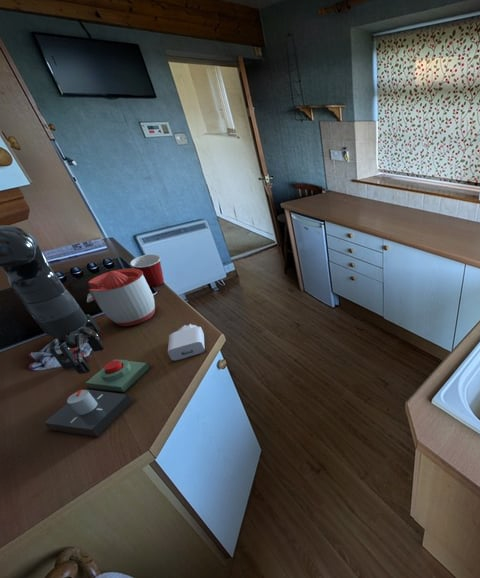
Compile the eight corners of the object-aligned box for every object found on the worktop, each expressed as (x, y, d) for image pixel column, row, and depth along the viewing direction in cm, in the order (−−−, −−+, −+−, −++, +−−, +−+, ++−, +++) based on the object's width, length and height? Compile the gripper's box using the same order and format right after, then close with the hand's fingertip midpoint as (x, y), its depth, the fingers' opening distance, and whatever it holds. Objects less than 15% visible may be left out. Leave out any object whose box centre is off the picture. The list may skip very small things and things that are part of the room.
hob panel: (50, 430, 72) (43, 422, 70) (90, 396, 81) (84, 388, 79) (97, 436, 71) (90, 429, 69) (132, 401, 79) (127, 394, 78)
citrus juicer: (103, 317, 110) (73, 271, 99) (157, 300, 120) (136, 256, 109) (105, 338, 100) (73, 289, 90) (164, 318, 110) (141, 272, 99)
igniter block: (89, 387, 83) (81, 378, 81) (117, 364, 91) (111, 355, 88) (124, 392, 82) (117, 382, 80) (149, 368, 89) (144, 358, 87)
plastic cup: (143, 292, 125) (131, 267, 119) (140, 282, 132) (127, 259, 125) (173, 283, 131) (162, 260, 125) (167, 275, 138) (157, 251, 132)
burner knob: (94, 411, 73) (84, 399, 71) (74, 417, 72) (62, 404, 69) (100, 399, 76) (90, 386, 74) (80, 404, 75) (70, 392, 72)
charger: (204, 326, 107) (205, 351, 96) (174, 333, 103) (172, 361, 92) (200, 315, 104) (200, 341, 93) (169, 323, 100) (166, 350, 89)
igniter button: (103, 373, 83) (100, 368, 82) (114, 363, 86) (112, 359, 85) (114, 374, 83) (111, 370, 82) (125, 365, 86) (123, 360, 85)
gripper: (61, 325, 64) (99, 376, 72) (89, 292, 75) (119, 340, 84) (16, 333, 62) (61, 385, 70) (52, 298, 73) (87, 346, 81)
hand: (92, 360), depth 77 cm, fingers open, 8 cm apart
